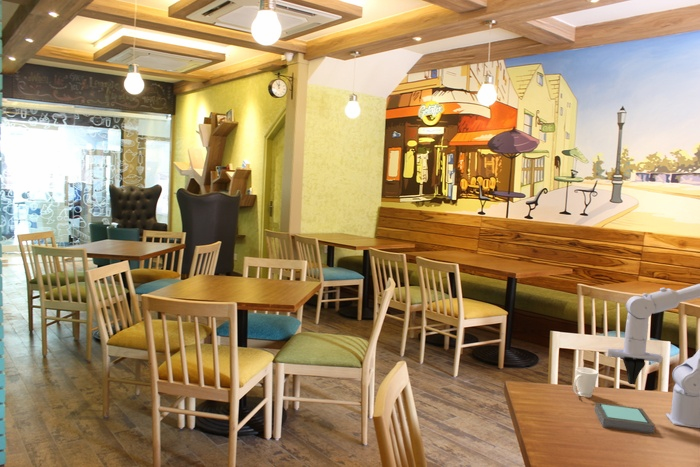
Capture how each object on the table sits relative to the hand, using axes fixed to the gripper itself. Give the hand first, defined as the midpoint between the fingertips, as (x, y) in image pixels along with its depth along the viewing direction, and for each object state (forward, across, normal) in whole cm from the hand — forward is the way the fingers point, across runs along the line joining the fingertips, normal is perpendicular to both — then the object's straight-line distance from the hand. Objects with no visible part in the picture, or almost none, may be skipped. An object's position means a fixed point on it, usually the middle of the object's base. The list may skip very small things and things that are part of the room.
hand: (631, 383), depth 169 cm
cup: (+10, +11, -12) cm, 19 cm away
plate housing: (+9, +3, +7) cm, 12 cm away
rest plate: (+8, +3, +7) cm, 11 cm away
